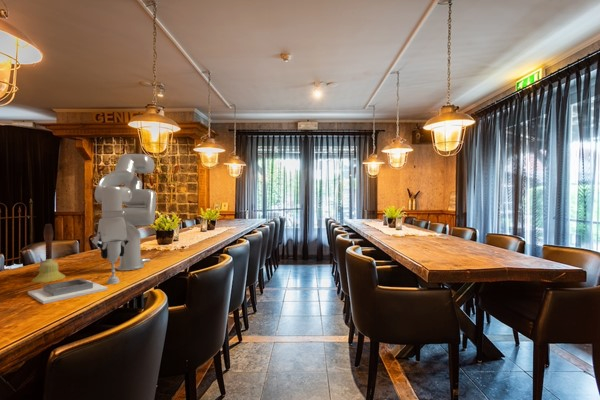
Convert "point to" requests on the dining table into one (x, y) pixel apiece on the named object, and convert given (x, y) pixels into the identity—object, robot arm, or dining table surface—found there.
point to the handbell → (48, 261)
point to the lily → (40, 263)
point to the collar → (54, 290)
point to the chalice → (113, 258)
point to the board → (48, 298)
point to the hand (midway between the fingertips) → (112, 256)
